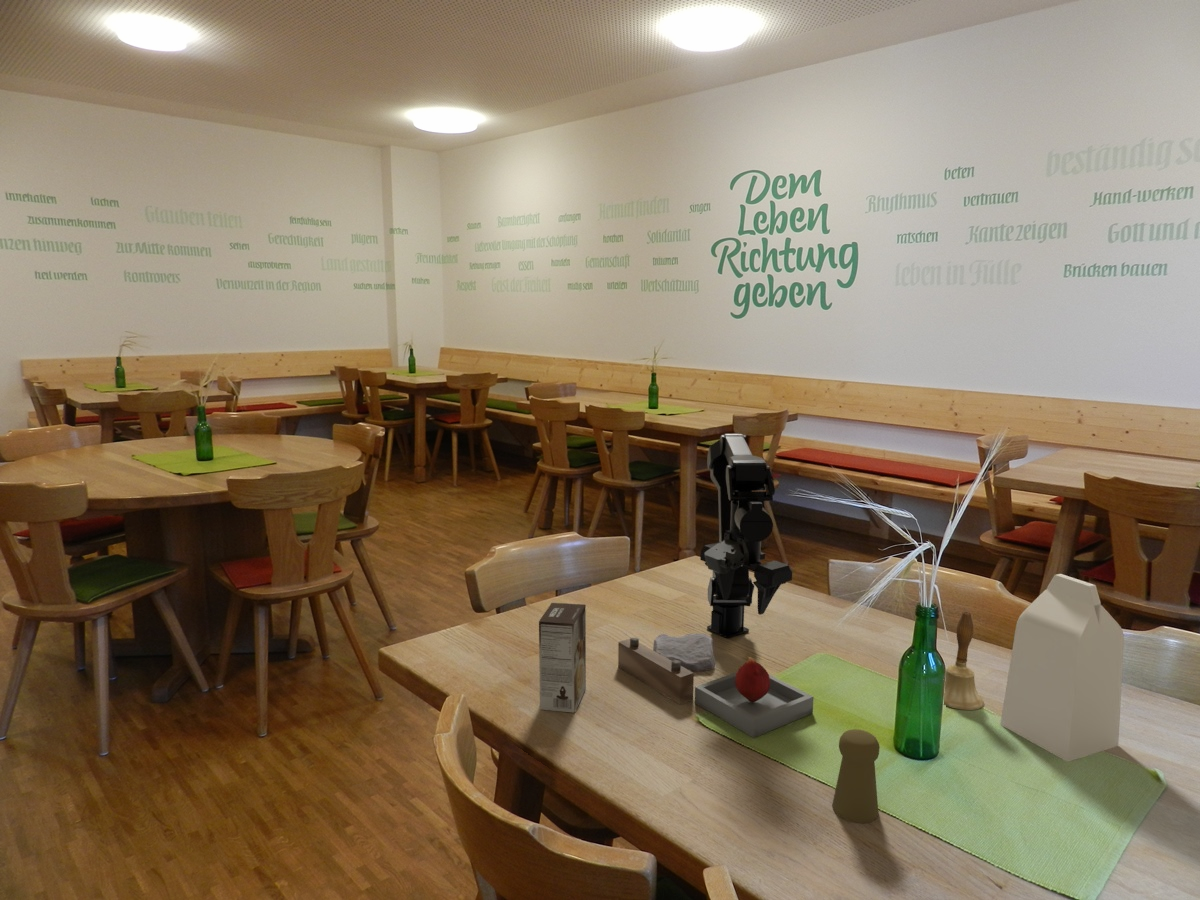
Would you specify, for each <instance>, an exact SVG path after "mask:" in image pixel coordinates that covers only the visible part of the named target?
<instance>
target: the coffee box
mask: <svg viewBox="0 0 1200 900" xmlns="http://www.w3.org/2000/svg"><path fill="white" fill-rule="evenodd" d="M586 607H587V605H586V604H585V603H584V604H582V603H581V604H580V603H567V602H566V603H564V602H561V603H560V602H551V603H550V605H549V606H548V607H547V609H546V611H545V612H544V613H543V615H542V616H541V618H540V619H539V621H538V643H539V644H538V650H539V651H538V655H539V658H538V659H539V660H538V661H539V663H538V664H539V709H540V710H542V711H543V710H544V711H554V712H565V713H575V712H576V711H577V708H578V707H579V704H580V703H581V700H582V698H583V696H584V693H585V691H586V689H587V679H586V677H587V670H586V668H587V666H586V664H587V663H586V661H587V655H586V654H587V652H586V651H587V650H586V648H587V645H586V639H587V637H586V635H587V634H586V633H587V632H586V625H587V624H586V623H587V622H586V621H587V620H586V619H587V618H586V612H587V611H586V610H587V609H586Z"/></svg>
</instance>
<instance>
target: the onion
mask: <svg viewBox="0 0 1200 900" xmlns="http://www.w3.org/2000/svg"><path fill="white" fill-rule="evenodd" d="M735 673H736V672H735ZM768 674H769V673H768V671H767V669H766V668H765V667H764V666H762V664H760V663H759V662H758V661H756V660H755V659H754V658H753V657H751V656H749V657H747V662H745V663H743V664H742V665H741V666H740V667H739V668H738V670H737V673H736V678H735V685H736V688H737V689H738V691H739V693H740V694H741V695H743V696H744V697H745V698H746V699H747V700H749V701H750V702H756V701H758V700H759V699H761V698H762V697H764V696H765V695H766V694H767V692H768V691H769V687H770V678H769V675H770V674H769V675H768Z"/></svg>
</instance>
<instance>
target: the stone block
mask: <svg viewBox="0 0 1200 900" xmlns="http://www.w3.org/2000/svg"><path fill="white" fill-rule="evenodd" d="M652 650H653V651H655V652H657V653H659V654H660V655H662V656H664V657H666V658H668V659H669V660H671V661H674V660H677V661H680V662H681V666H682V667H684V668H686V669H688V670H689V671H697V672H700V671H707V670H713V669H715V667H716V662H715V661H716V660H715V655H714V640H713V637H712V636H709V635H706V633H705V634H704V633H693V634H692V633H691V634H690V633H689V634H686V635H682V636H669V635H668V634H664V633H663V634H659V635H658V636H657V637H655V638H654V640H653V649H652Z"/></svg>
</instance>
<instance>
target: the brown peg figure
mask: <svg viewBox="0 0 1200 900" xmlns="http://www.w3.org/2000/svg"><path fill="white" fill-rule="evenodd" d="M838 748H839V752H840V754H841V755H840V756H842V757H841V762H840V766H839V771H838V775H837V780H836V785H835V791H834V795H833V800H832V805H831V806H832V810H833V812H834V813H835V814H836V815H837V816H839V817H840V818H842V819H844V820H846V821H849V822H853V823H856V824H857V823H858V824H867V823H872V822H874V821H876V819H877V818H878V817H879V805H878V803H879V802H878V791H877V790H878V789H877V779H876V778H877V777H876V776H877V775H876V765H875V761H877V759H878V758H879V755H880V743H879V741H878V739H877V737H876V736H875V735H874V734H872V733H871V732H868V731H866V730H863V729H855V728H854V729H848V730H845V731H844V732H843V733H842V734H841V736H840V738H839V742H838Z"/></svg>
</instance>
